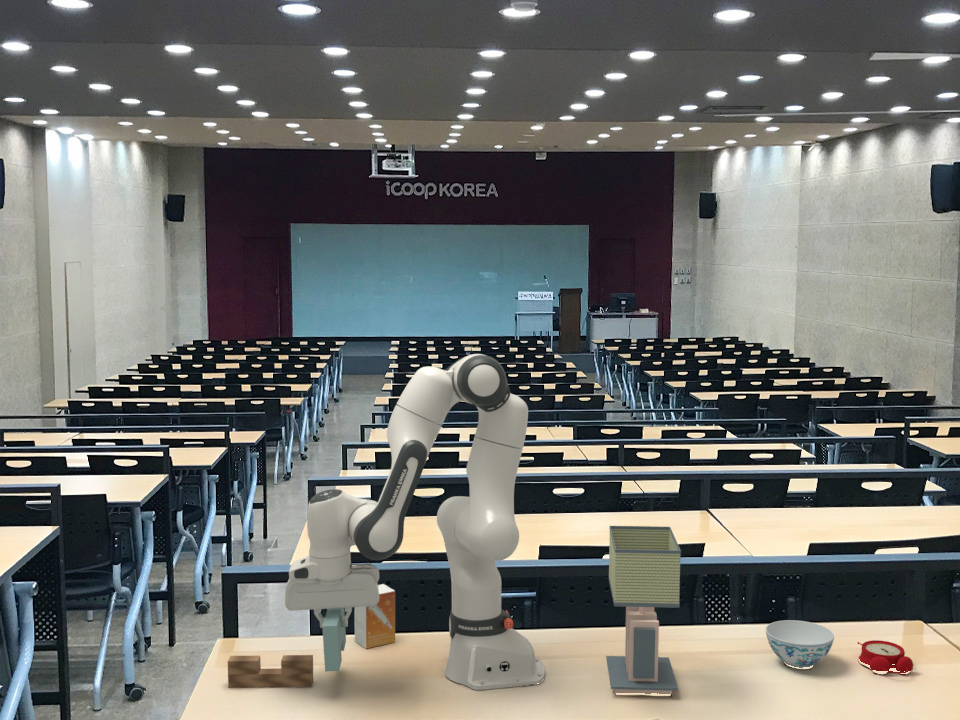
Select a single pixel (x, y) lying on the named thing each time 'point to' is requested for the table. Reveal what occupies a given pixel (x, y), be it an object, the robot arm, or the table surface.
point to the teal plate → (333, 639)
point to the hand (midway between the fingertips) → (334, 626)
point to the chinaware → (799, 642)
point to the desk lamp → (643, 604)
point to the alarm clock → (885, 656)
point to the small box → (376, 620)
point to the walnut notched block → (270, 672)
